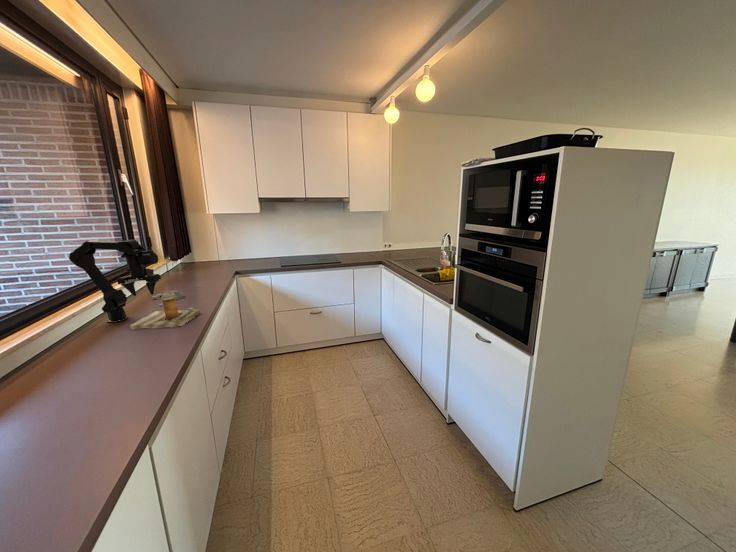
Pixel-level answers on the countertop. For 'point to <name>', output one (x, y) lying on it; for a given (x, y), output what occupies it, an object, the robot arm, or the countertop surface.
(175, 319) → the cross bar
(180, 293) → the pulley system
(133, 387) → the countertop surface
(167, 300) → the cord reel
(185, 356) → the countertop surface
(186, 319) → the rectangular frame
